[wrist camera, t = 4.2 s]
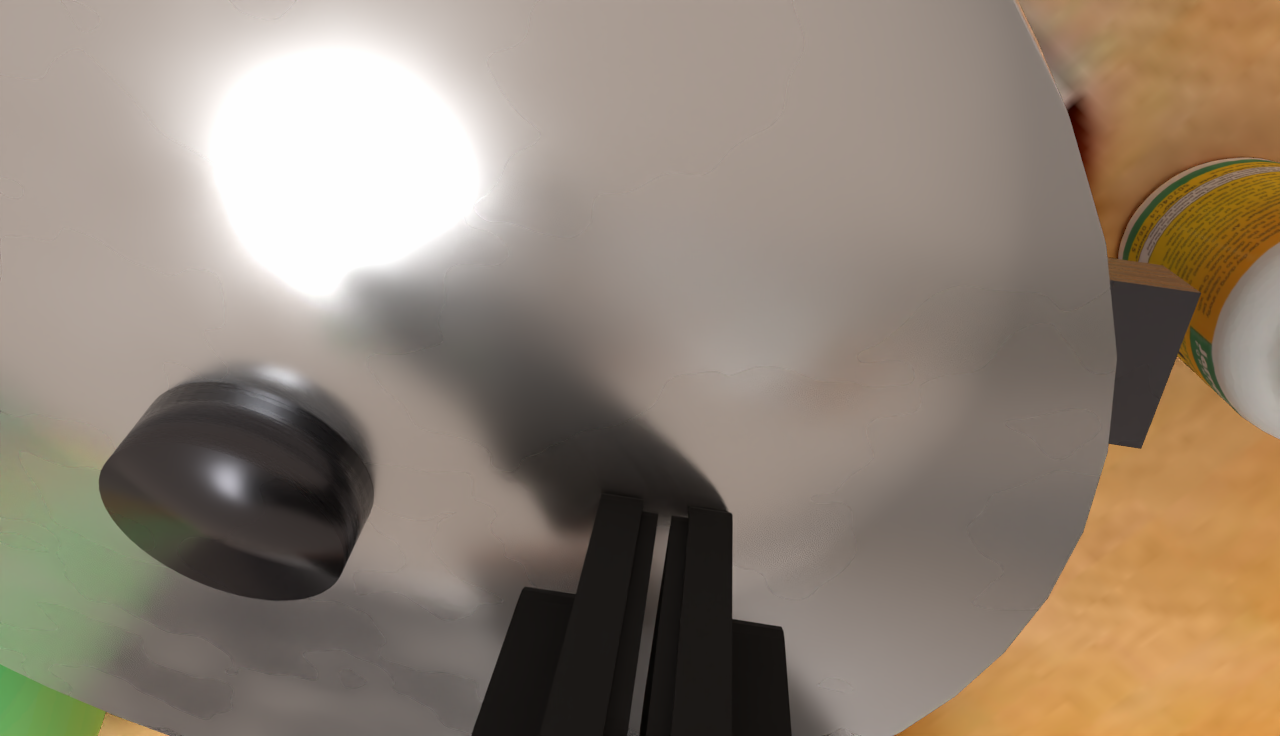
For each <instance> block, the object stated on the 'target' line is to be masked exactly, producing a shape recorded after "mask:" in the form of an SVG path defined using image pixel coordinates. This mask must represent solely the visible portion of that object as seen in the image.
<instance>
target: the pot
mask: <svg viewBox="0 0 1280 736" xmlns="http://www.w3.org/2000/svg"><path fill="white" fill-rule="evenodd" d="M1108 269H1109V279H1110V289H1111V299H1112V310H1113V320H1114V330H1115V340H1116V351H1117V362H1116V372H1115V382H1114V392H1113V403H1112V413H1111V423H1110V433H1109V444H1114V445H1121V446H1127V447H1134V448H1140V449H1141V448H1142V445H1143V442H1144V440H1145V437H1146V435H1147V432H1148V429H1149V427H1150V424H1151V422H1152V419H1153V417H1154V414H1155V411H1156V409H1157V406H1158V404H1159V401H1160V398H1161V396H1162V393H1163V391H1164V388H1165V386H1166V383H1167V380H1168V378H1169V375H1170V373H1171V370H1172V367H1173V365H1174V362H1175V360H1176V357H1177V355H1178V352H1179V349H1180V347H1181V344H1182V342H1183V339H1184V336H1185V334H1186V331H1187V329H1188V326H1189V324H1190V321H1191V318H1192V316H1193V313H1194V311H1195V308H1196V306H1197V303H1198V300H1199V298H1200V295H1201V292H1199V291H1198V290H1196V289H1195V288H1194V287H1192V286H1191V285H1189V284H1188V283H1187V282H1185V281H1184V280H1183V279H1181V278H1180V277H1178V276H1177V275H1176V274H1174V273H1173V272H1171V271H1170V270H1169V269H1167V268H1166V267H1164V266H1163V265H1157V264H1150V263H1143V262H1135V261H1128V260H1121V259H1114V258H1108Z"/></svg>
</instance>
